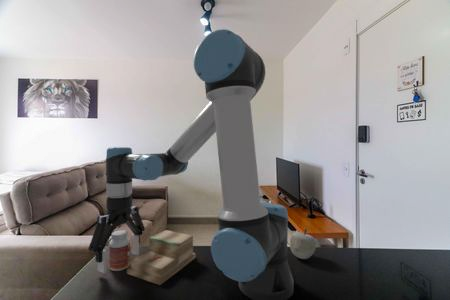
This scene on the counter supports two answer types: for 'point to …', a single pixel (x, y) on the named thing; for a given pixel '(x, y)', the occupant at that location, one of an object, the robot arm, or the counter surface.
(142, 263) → the stand
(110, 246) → the pill bottle
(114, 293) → the counter surface
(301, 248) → the decorative object
